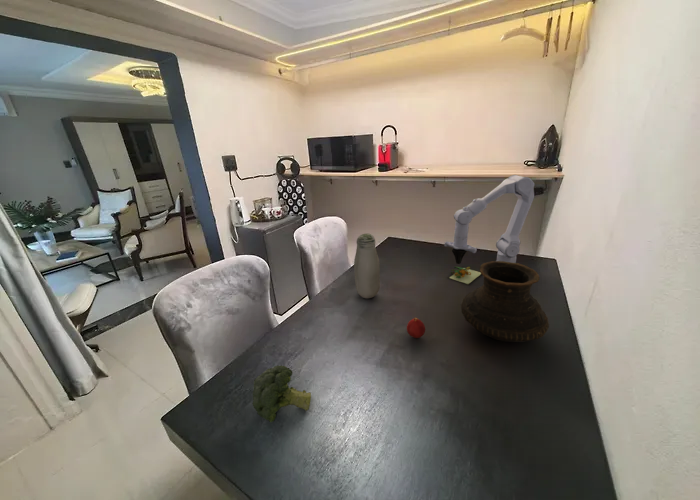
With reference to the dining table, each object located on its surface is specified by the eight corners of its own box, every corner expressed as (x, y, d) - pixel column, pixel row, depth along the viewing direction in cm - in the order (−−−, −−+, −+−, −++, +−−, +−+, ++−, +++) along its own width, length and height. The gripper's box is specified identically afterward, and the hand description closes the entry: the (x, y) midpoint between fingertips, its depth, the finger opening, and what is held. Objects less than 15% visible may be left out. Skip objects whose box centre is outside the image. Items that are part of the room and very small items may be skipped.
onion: (413, 329, 91) (413, 310, 88) (428, 336, 87) (429, 316, 84) (403, 338, 88) (403, 318, 85) (418, 346, 84) (419, 325, 81)
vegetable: (302, 436, 58) (237, 415, 57) (298, 425, 69) (244, 407, 68) (321, 378, 63) (262, 357, 62) (315, 377, 75) (265, 359, 74)
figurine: (447, 271, 123) (463, 277, 117) (461, 261, 129) (477, 265, 123) (447, 277, 124) (463, 282, 118) (460, 266, 131) (477, 271, 125)
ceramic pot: (447, 335, 87) (451, 275, 79) (474, 302, 103) (481, 249, 95) (533, 373, 71) (551, 302, 63) (550, 327, 87) (566, 266, 79)
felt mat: (463, 268, 131) (463, 267, 131) (482, 273, 125) (482, 272, 124) (449, 278, 123) (449, 277, 122) (468, 284, 116) (468, 283, 116)
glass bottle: (368, 305, 107) (365, 240, 97) (352, 296, 114) (347, 235, 104) (384, 295, 113) (383, 233, 102) (368, 287, 120) (365, 229, 110)
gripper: (441, 235, 122) (440, 261, 127) (472, 241, 112) (469, 270, 117) (449, 231, 126) (447, 257, 131) (480, 237, 116) (476, 265, 121)
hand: (458, 263), depth 124 cm, fingers closed
